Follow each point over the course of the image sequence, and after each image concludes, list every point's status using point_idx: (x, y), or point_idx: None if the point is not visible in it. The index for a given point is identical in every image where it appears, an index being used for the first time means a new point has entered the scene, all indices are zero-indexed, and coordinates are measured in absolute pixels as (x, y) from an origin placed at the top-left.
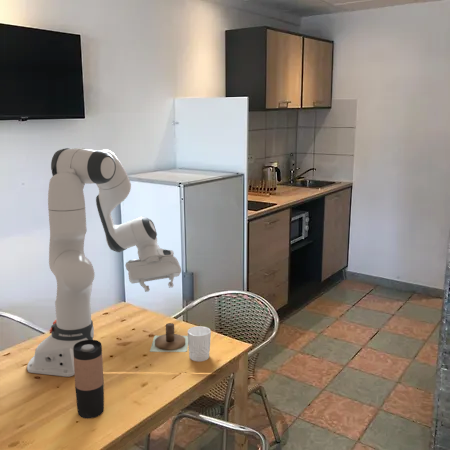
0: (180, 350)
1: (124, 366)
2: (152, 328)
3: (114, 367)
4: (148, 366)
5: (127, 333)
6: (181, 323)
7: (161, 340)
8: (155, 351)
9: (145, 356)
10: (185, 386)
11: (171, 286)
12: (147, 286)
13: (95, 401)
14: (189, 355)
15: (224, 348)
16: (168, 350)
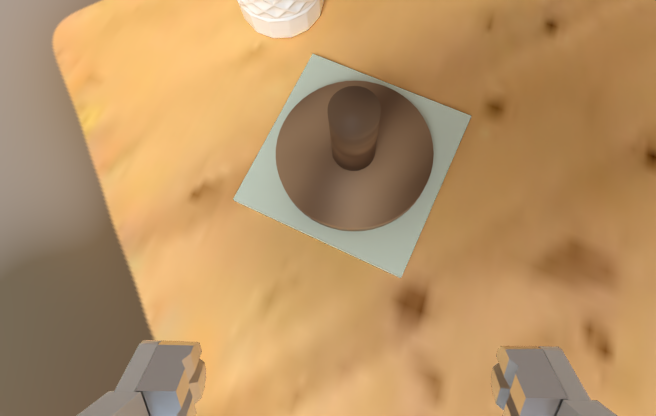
0: (334, 74)
1: (602, 47)
2: (380, 398)
3: (646, 54)
4: (502, 13)
5: None
6: None
7: (396, 165)
8: (445, 106)
9: (496, 95)
10: None
11: (175, 346)
12: (542, 385)
13: None
14: (320, 3)
15: (149, 38)
16: None
